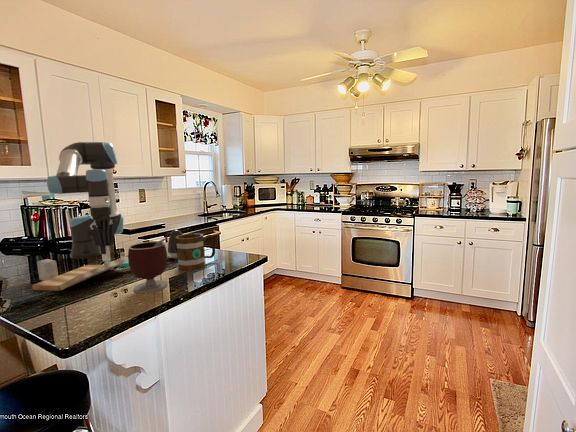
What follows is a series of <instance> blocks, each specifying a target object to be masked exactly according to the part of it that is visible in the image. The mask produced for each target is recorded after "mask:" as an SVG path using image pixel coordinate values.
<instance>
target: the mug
mask: <svg viewBox="0 0 576 432" xmlns="http://www.w3.org/2000/svg"><path fill="white" fill-rule="evenodd" d="M209 238H211V240H212V242H211V250H212V252H211V254H210V255H205V246H204V243H205V242H206V241H208V239H209ZM176 243H177V257H178V258H177V262H178V265H177V267H178V268H177V270H178V271H184V272H189V271H197V270H200V269H203V268H205V267H206V262H205V259H212V258H213V257H215V255H216V254H215V253H216V239H215V236H214V235H212V234H208V235H206V236H205V237H204V233H187V234H186V233H185V234H183V235H180V236H176Z"/></svg>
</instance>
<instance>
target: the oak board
mask: <svg viewBox="0 0 576 432" xmlns="http://www.w3.org/2000/svg"><path fill="white" fill-rule="evenodd" d="M102 265H103V264H86V265H84V266H80V267H77V268H75V269H72V270H70V271H67V272H64V273H62V274H60V275H59V274H58V276H56V277H53V278H50V279H48V280H45V281H42V280H41V281H40V282H37V283H35V284H32V285H31V286H32V291H53V292H54V291H58V292H59V291H62V290H61V289H60V287H59V285H61V284H63V283H65V282H67V281H69V280H71V279H73V278H75V277H76V276H78V275H80V274H82V273H85V272H87V271H90V270H92V269H95V268H97V267H100V266H102Z"/></svg>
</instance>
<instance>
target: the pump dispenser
mask: <svg viewBox="0 0 576 432" xmlns="http://www.w3.org/2000/svg"><path fill="white" fill-rule="evenodd" d="M165 235H167V236H169V237H168V239H167V240H168V242H167V254H168V255H169V256H170V258H172V259H178V257H177V243H176V236H180V235H184V234H183V233H182V231H181V230H179V229H174V230H172V231H171V232H166V234H165Z"/></svg>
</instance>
